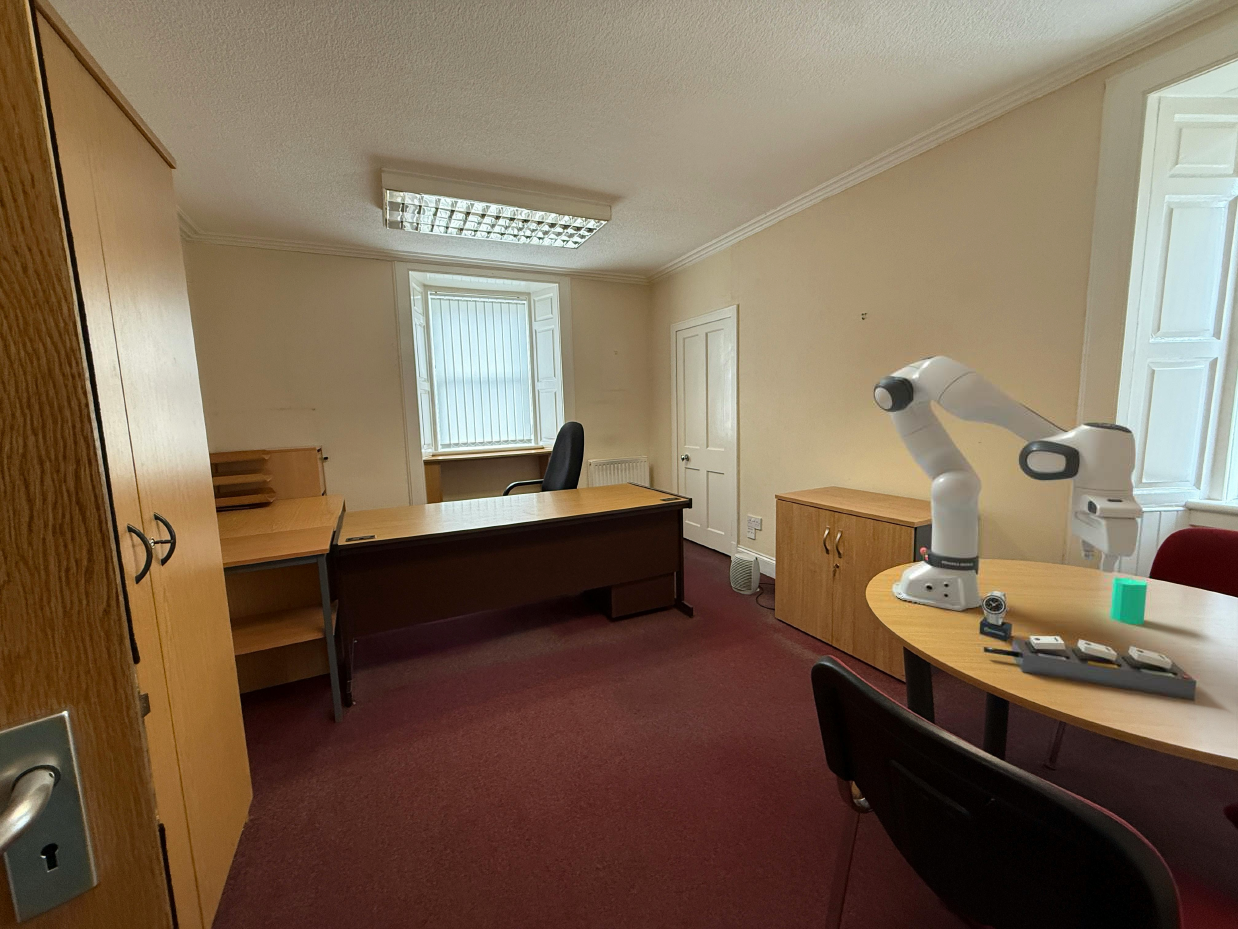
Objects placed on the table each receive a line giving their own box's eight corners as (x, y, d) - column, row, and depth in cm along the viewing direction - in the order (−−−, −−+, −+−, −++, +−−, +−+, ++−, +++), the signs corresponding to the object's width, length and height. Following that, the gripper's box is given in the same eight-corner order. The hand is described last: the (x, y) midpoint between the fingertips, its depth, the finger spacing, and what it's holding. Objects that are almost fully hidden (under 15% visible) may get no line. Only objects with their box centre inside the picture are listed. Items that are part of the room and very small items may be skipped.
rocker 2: (1083, 652, 100) (1085, 645, 100) (1077, 645, 103) (1079, 638, 102) (1115, 660, 98) (1117, 654, 98) (1107, 653, 101) (1110, 647, 100)
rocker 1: (1035, 648, 104) (1034, 642, 103) (1030, 642, 106) (1029, 635, 106) (1065, 649, 101) (1064, 642, 101) (1059, 642, 104) (1058, 636, 104)
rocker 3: (1136, 659, 96) (1138, 653, 96) (1128, 652, 99) (1130, 645, 99) (1169, 668, 94) (1172, 662, 94) (1160, 660, 97) (1163, 654, 97)
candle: (1150, 625, 121) (1154, 580, 120) (1122, 624, 122) (1126, 579, 121) (1130, 615, 127) (1134, 571, 125) (1104, 614, 128) (1107, 571, 127)
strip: (987, 666, 106) (988, 648, 105) (979, 649, 113) (980, 632, 112) (1194, 700, 91) (1196, 679, 91) (1170, 679, 98) (1172, 659, 98)
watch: (977, 636, 119) (979, 594, 118) (986, 626, 124) (988, 585, 123) (1005, 644, 115) (1007, 600, 114) (1013, 633, 120) (1016, 591, 119)
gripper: (1062, 491, 110) (1059, 549, 111) (1102, 509, 92) (1097, 578, 93) (1099, 492, 107) (1095, 552, 109) (1148, 511, 89) (1142, 582, 90)
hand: (1096, 564), depth 101 cm, fingers open, 7 cm apart
